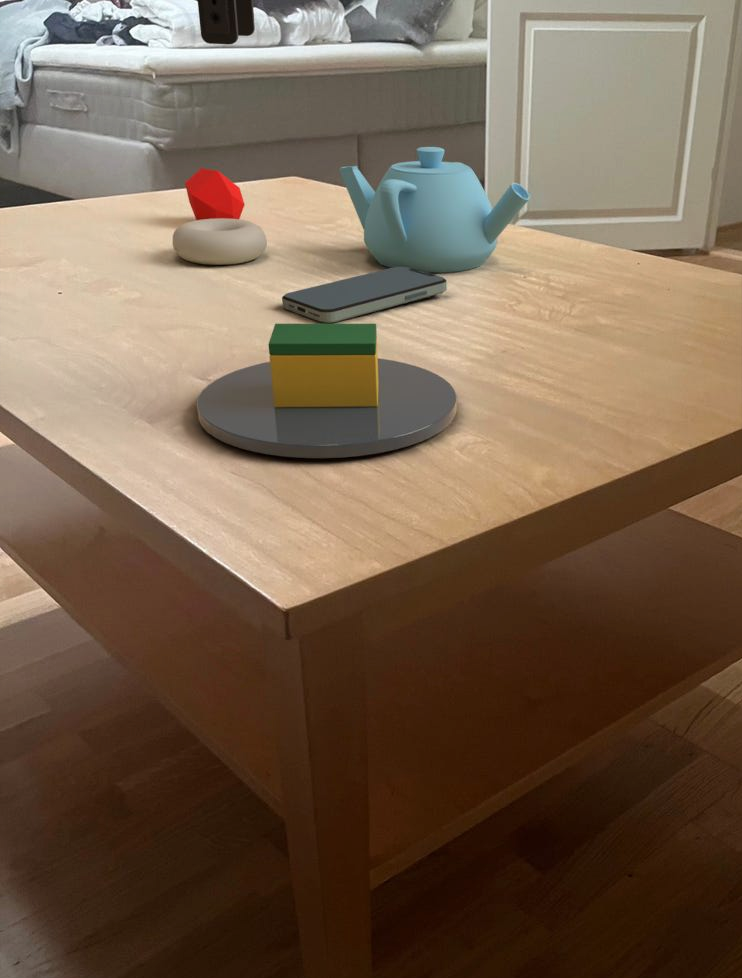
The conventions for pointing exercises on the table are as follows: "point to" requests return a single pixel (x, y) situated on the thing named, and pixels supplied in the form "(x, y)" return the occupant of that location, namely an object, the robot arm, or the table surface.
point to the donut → (219, 241)
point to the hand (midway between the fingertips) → (230, 39)
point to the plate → (327, 414)
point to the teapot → (431, 214)
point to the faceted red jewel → (214, 196)
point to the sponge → (324, 365)
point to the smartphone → (364, 294)
